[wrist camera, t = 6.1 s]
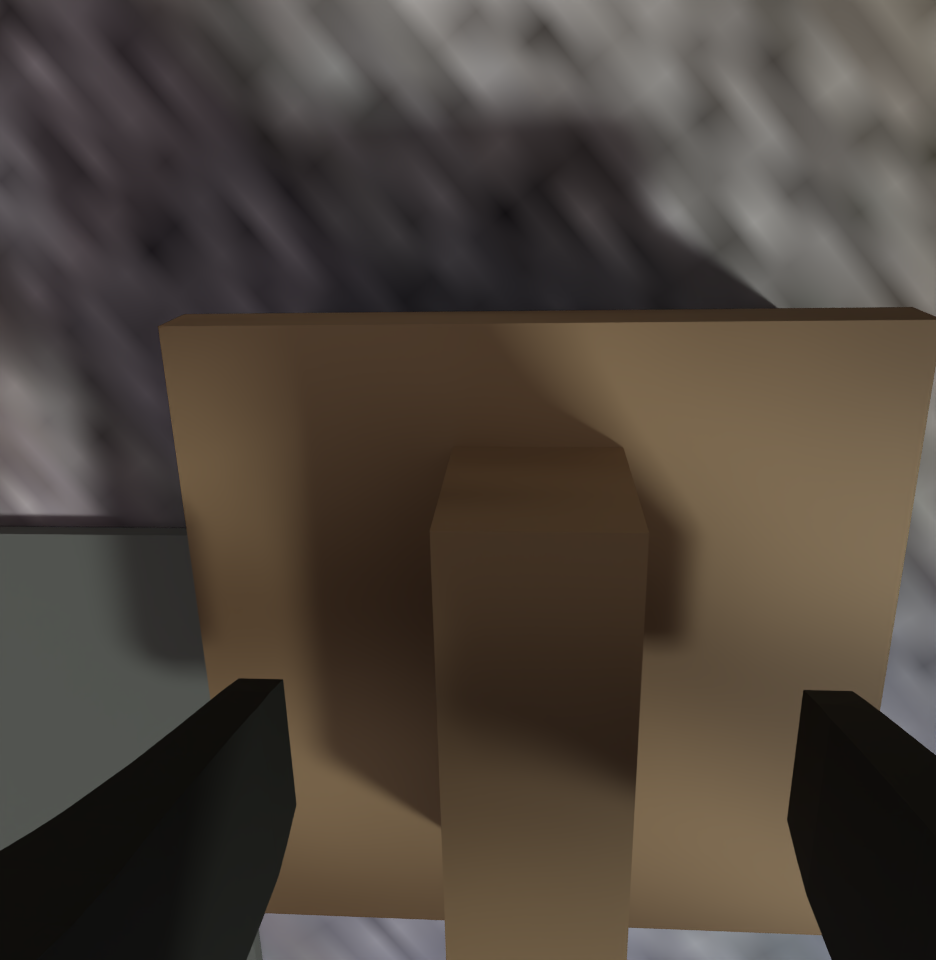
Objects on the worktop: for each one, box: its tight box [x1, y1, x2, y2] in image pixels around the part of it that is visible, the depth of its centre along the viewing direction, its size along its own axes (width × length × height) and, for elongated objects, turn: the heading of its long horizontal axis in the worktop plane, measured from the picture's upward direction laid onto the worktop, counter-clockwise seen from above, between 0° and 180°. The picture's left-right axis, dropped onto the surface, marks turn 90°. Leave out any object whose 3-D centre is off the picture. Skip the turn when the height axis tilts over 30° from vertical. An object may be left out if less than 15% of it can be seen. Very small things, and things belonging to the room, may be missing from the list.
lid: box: [158, 307, 936, 960], centre depth 13 cm, size 10×10×4 cm
